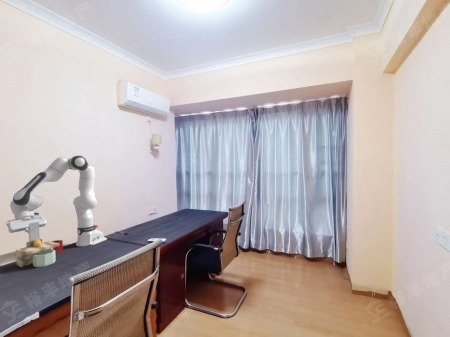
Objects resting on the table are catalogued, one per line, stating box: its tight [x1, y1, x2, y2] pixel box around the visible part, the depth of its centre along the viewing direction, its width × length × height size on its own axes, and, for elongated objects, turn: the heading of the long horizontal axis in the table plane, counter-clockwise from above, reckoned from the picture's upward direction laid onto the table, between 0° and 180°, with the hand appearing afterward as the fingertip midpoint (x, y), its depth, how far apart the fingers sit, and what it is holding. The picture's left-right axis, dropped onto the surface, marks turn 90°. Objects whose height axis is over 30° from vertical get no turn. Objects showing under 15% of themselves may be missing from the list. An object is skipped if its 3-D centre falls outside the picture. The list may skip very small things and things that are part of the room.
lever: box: [50, 239, 64, 254], centre depth 168 cm, size 18×9×7 cm, turn 170°
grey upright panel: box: [25, 222, 43, 247], centre depth 153 cm, size 8×2×15 cm, turn 153°
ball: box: [34, 240, 41, 247], centre depth 152 cm, size 4×4×4 cm
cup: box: [32, 249, 57, 268], centre depth 148 cm, size 11×11×7 cm
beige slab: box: [15, 240, 59, 268], centre depth 151 cm, size 18×14×10 cm
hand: (32, 233), depth 155 cm, fingers closed
